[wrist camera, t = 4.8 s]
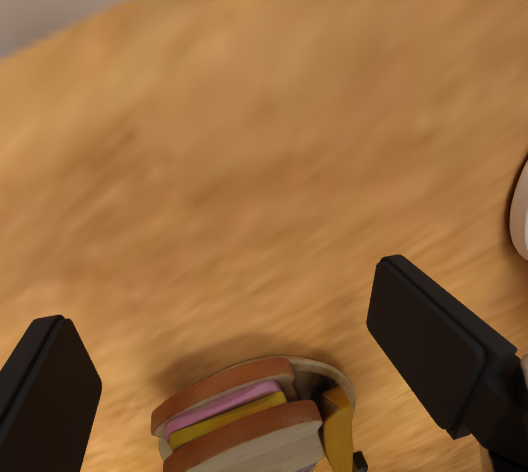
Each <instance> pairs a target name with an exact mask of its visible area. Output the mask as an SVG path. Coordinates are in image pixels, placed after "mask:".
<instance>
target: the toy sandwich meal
mask: <svg viewBox="0 0 528 472" xmlns="http://www.w3.org/2000/svg"><path fill="white" fill-rule="evenodd" d="M355 406H356V394H355V390H354V387H353V385H352V383H351V382H350V380H349V379H348V378H347V377H346V376H345V375H344V374H343V373H342V372H341V371H339V370H338V369H336V368H334V367H332V366H330V365H328V364H325V363H323V362H319V361H316V360H311V359H308V358H304V357H299V356H288V355H279V356H267V357H261V358H256V359H252V360H248V361H245V362H241V363H238V364H235V365H233V366H231V367H228V368H226V369H224V370H222V371H220V372H218V373H216V374H214V375H213V376H211V377H209V378H207V379H205V380H203V381H201V382H199V383H196V384H194V385H192V386H190V387H188V388H187V389H185V390H183V391H181V392H179V393H178V394H176V395H174V396H173V397H171V398H170V399H168V400H166V401H165V402H164V403H162V404H161V405H160V406H159V407H157V408H156V409H155V410H154V411H153V413H152V416H151V434H152V435H153V436H157V437H159V451H160V455H161V457H162V459H163V461H164V464H163V472H311V471H312V470H313V469H314V467H315V466H316V464H317V462H318V461H320V460H321V459H323V458H324V456H325V455H324V451H325V454H326V457H327V459H328V461H329V463H330V465H331V467H332V469H333V471H334V472H352V464H353V440H352V418H353V413H354V410H355ZM323 450H324V451H323Z"/></svg>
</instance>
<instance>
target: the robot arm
mask: <svg viewBox="0 0 528 472" xmlns="http://www.w3.org/2000/svg"><path fill="white" fill-rule="evenodd" d="M510 233H511V238H512V242H513V245H514V246H515V248H516V250H517V251H518V253H519V254H520V255H521V256H522V257H523V258H525V259H526V260H527V261H528V160H527V162H526V164H525V166H524V168H523V171H522V173H521V176H520V178H519V181H518V183H517V186H516V188H515V192H514V196H513V200H512V205H511V209H510ZM366 323H367V328H368V330H369V332H370V333H371V335H372V336H373V337H374V339H375V340H376V341H377V343H378V344H379V346H380V347H381V348H382V350H383V351H384V352H385V354H386V355H387V357H388V358H389V359H390V361H391V362H392V363H393V365H394V366H395V368H396V369H397V370H398V372H399V373H400V374H401V376H402V377H403V379H404V380H405V381H406V383H407V384H408V385H409V387H410V388H411V390H412V391H413V392H414V394H415V395H416V396H417V398H418V399H419V401H420V402H421V403H422V405H423V406H424V407H425V409H426V410H427V412H428V413H429V414H430V416H431V417H432V418H433V420H434V421H435V422H436V424H437V425H438V426H439V427H440V428H442V429H446V431H447V432H448V433H449V435H450V436H451V438H452V439H453V440H455V439H458V438H461V437H464V436H467V435H470V434H471V433H472V434H473V436H474V437H475V438H476V439H477V441H478V442H479V448H480V456H481V464H482V472H528V354H526V355H524V356H523V358H522V359H520V358H518V357H517V356H516V355H515V353H516V352H517V350H518V349H517V348H516V347H515V346H514V345H512V344H511V343H510V342H509V341H508V340H506V339H505V338H504V337H503V336H501V335H500V334H499V333H498V332H496V331H495V330H494V329H493V328H491V327H490V326H489V325H488V324H487V323H485V322H484V321H483V320H482V319H480V318H479V317H478V316H477V315H475V314H474V313H473V312H472V311H470V310H469V309H468V308H467V307H466V306H464V305H463V304H462V303H461V302H459V301H458V300H457V299H456V298H454V297H453V296H452V295H451V294H450V293H448V292H447V291H446V290H445V289H443V288H442V287H441V286H440V285H438V284H437V283H436V282H435V281H433V280H432V279H431V278H430V277H429V276H427V275H426V274H425V273H424V272H422V271H421V270H420V269H419V268H417V267H416V266H415V265H414V264H412V263H411V262H410V261H409V260H408V259H406V258H405V257H404V256H402V255H399V254H398V255H392V256H387V257H383V258H382V259H381V260H380V262H379V263H377V265H376V270H375V276H374V281H373V287H372V293H371V298H370V304H369V309H368V315H367V321H366ZM101 391H102V383H101V379H100V377H99V375H98V373H97V371H96V369H95V367H94V365H93V363H92V361H91V359H90V357H89V355H88V352H87V350H86V348H85V346H84V344H83V342H82V340H81V338H80V336H79V334H78V332H77V330H76V328H75V326H74V324H73V322H72V321H71V319H65V318H64V317H63V316H62V315H54V316H49V317H43V318H37V319H35V320H33V322H32V323H31V324H30V326H29V327H28V329H27V330H26V332H25V333H24V335H23V337H22V338H21V340H20V341H19V343H18V344H17V346H16V348H15V349H14V351H13V352H12V354H11V355H10V357H9V359H8V360H7V362H6V363H5V365H4V366H3V368H2V370H1V371H0V472H80V470H81V466H82V462H83V458H84V455H85V451H86V447H87V444H88V440H89V436H90V433H91V429H92V425H93V422H94V418H95V414H96V411H97V407H98V403H99V400H100V396H101Z"/></svg>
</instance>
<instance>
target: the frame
mask: <svg viewBox="0 0 528 472" xmlns="http://www.w3.org/2000/svg"><path fill="white" fill-rule="evenodd" d="M367 469H368V465H367V463H366V461H365V458H364V456H363V454H362V452H361V451H360V452H357V453H354V454H353V464H352V472H367Z"/></svg>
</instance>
